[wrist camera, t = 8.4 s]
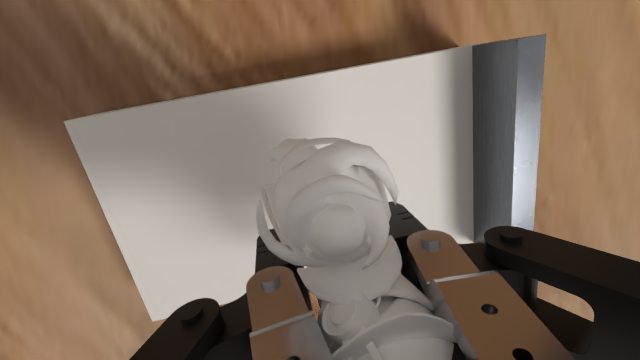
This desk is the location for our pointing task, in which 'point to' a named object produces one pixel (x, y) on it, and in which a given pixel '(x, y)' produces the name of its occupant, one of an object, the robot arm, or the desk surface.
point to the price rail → (506, 131)
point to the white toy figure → (349, 251)
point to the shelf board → (270, 164)
